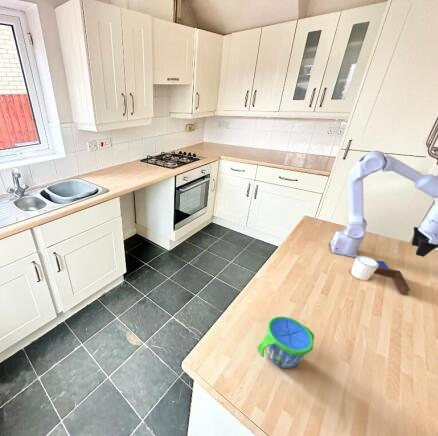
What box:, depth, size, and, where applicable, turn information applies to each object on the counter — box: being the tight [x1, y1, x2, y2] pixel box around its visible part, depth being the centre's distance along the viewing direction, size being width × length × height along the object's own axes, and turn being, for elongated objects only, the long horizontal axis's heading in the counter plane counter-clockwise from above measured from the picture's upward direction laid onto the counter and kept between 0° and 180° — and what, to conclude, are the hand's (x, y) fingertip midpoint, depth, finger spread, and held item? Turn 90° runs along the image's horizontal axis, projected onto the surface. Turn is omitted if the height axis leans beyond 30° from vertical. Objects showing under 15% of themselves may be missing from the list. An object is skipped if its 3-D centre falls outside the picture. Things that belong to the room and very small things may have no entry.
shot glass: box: [351, 255, 379, 281], centre depth 94 cm, size 7×7×7 cm
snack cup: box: [256, 315, 315, 369], centre depth 66 cm, size 16×10×10 cm
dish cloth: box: [374, 259, 389, 268], centre depth 100 cm, size 8×7×1 cm
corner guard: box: [373, 266, 411, 296], centre depth 92 cm, size 8×11×3 cm
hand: (417, 250), depth 94 cm, fingers open, 7 cm apart
